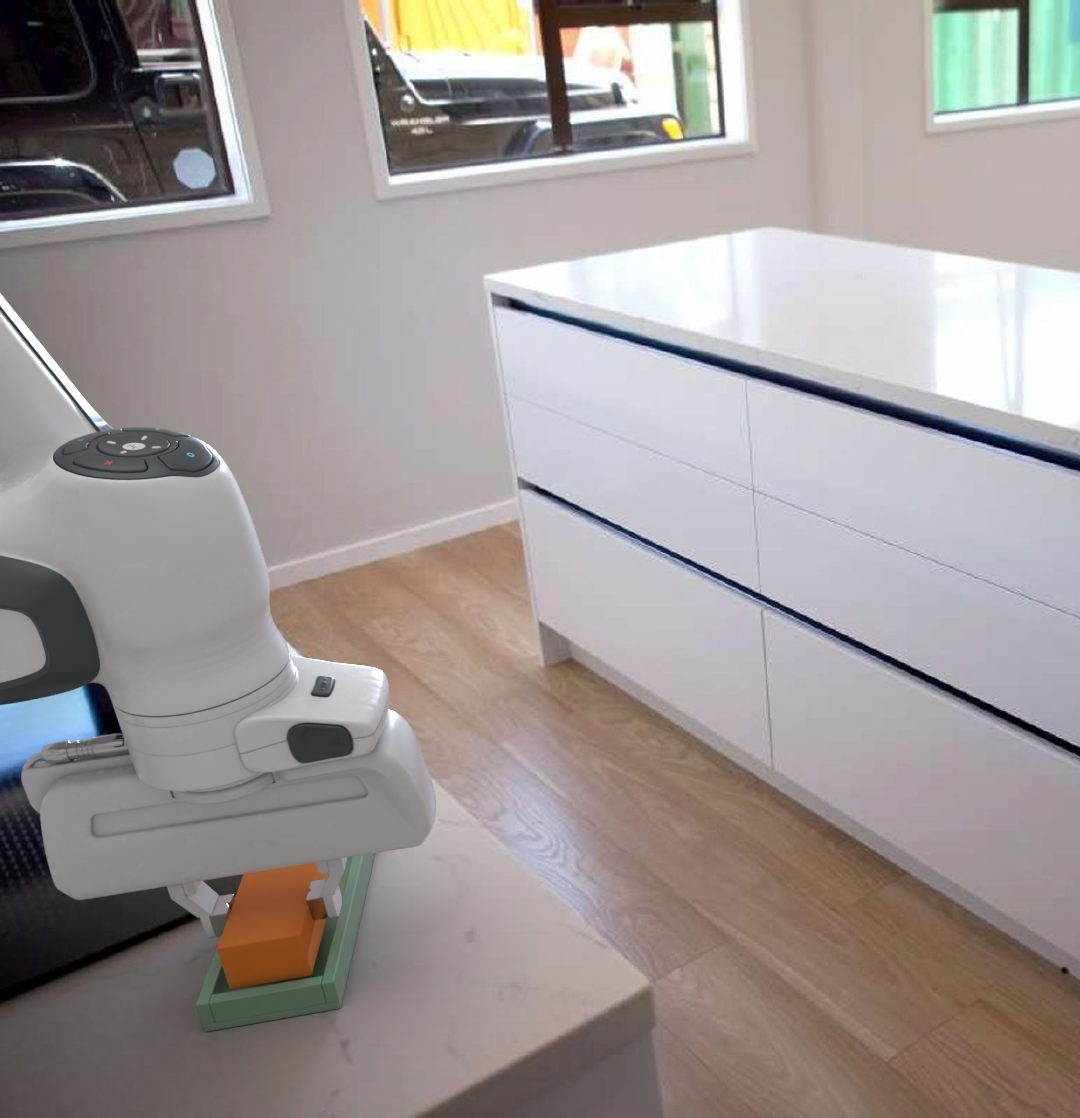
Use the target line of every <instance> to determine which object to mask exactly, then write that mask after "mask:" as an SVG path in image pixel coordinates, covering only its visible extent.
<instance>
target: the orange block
mask: <svg viewBox="0 0 1080 1118" xmlns="http://www.w3.org/2000/svg"><path fill="white" fill-rule="evenodd" d="M242 877H243V878H242ZM242 877H241V880H240V883H239V885H240V886H239V885H238V888H239V889H238V888H237V891H236V894H235V896H236V897H235V896H234V897H235V901H234V904H233V907H232V908H231V912H230V915H229V918H228V919H227V922H226V924H225V927H224V930H223V933H222V935H221V936H220V937H221V938H220V937H219V940H220V941H219V940H218V943H219V944H218V943H217V946H216V948H217V952H218V955H219V958H220V961H221V964H222V967H223V970H224V973H225V976H226V979H227V982H228V985H229V988H230V989H236V988H242V987H248V986H253V985H259V984H265V983H271V982H276V981H282V980H288V979H293V978H299V977H305V976H311V975H312V973H313V969H314V965H315V961H316V957H317V953H318V949H319V945H320V942H321V938H322V934H323V930H324V926H325V922H326V919H319V920H313V919H312V916H311V911H310V909H309V906H307V902H306V898H307V894H308V892H310V889H309V887H310V884H311V881H316V880H321V879H325V877H326V875H325V874H320V873H319V871H318V868H317V865H316V863H310V864H303V865H297V866H291V867H285V868H279V869H272V870H266V871H260V872H254V873H247V874H242Z"/></svg>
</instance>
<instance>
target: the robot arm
mask: <svg viewBox="0 0 1080 1118" xmlns="http://www.w3.org/2000/svg"><path fill="white" fill-rule="evenodd" d="M239 486H240V485H239V484H238V482H237V480H236V478H235V476H234V474H233V472H232V471H231V469H230V467H229V466H228V464H227V463H226V461H225V460H224V459H223V458H222V456H221V455H220V454H219V453H218V451H216V450H215V449H214V448H213V447H212V446H211V445H210V444H209V443H207V442H205V441H204V440H202V439H200V438H198V437H196V436H192V435H190V434H188V433H184V432H182V431H178V430H177V431H176V430H173V429H169V428H168V429H167V428H159V427H146V426H145V427H143V426H142V427H141V426H140V427H139V426H137V427H135V426H134V427H123V428H117V429H114V428H113V427H112V426H111V425H110V424H108V423H107V421H105V420H104V419H103V417H102V416H101V415H99V413H98V412H97V411H96V410H95V408H93V407H92V406H91V404H90V403H89V402H88V401H87V400H86V399H85V397H84V396H83V395H82V394H81V393H80V391H79V390H78V389H77V387H76V386H75V385H74V383H73V382H72V381H71V380H70V378H69V377H68V376H67V375H66V373H65V372H64V371H63V370H62V368H60V366H59V365H58V364H57V362H56V361H55V360H54V359H53V357H52V356H51V355H50V354H49V352H48V351H47V349H46V348H45V347H44V346H43V344H42V343H41V342H40V341H39V340H38V339H37V338H36V336H35V335H34V333H33V332H32V331H31V330H30V328H28V326H27V325H26V324H25V322H24V321H23V320H22V319H21V317H20V316H19V315H18V314H17V312H16V311H15V310H14V309H13V307H12V306H11V305H10V303H9V302H8V301H7V300H6V299H5V297H4V296H3V295H2V294H1V293H0V706H5V705H12V704H17V703H23V702H28V701H34V700H38V699H44V698H48V697H53V696H58V695H61V694H64V693H68V692H71V691H74V690H76V689H80V688H82V687H84V686H86V685H89V684H99V685H101V686H103V687H104V688H105V689H106V691H107V693H108V695H109V698H110V700H111V704H112V707H113V709H114V712H115V715H116V718H117V721H118V725H119V727H120V730H121V732H117V733H110V734H103V735H98V736H94V737H90V738H86V739H85V738H84V739H80V740H73V741H72V740H60V741H54V742H51V743H48V744H45V745H43V746H42V747H41V749H40V750H41V751H39V752H37V753H35V754H33V755H32V756H30V757H29V758H28V759H27V760H26V761H25V763H24V764H23V767H22V769H21V775H20V776H21V777H20V780H21V784H22V786H23V789H24V792H25V794H26V798H27V799H28V802H29V804H30V806H31V807H32V809H33V810H34V811H36V812H37V813H38V814H39V816H40V817H39V818H40V827H41V835H42V842H43V847H44V852H45V857H46V861H47V865H48V868H49V869H48V870H49V872H50V875H51V879H52V882H53V884H54V886H55V888H56V889H57V890H58V891H59V892H61V893H63V895H66V896H68V897H69V898H71V899H73V900H75V901H85V900H92V899H97V898H103V897H109V896H116V895H123V894H129V893H134V892H141V891H146V890H147V891H149V890H153V889H159V888H165V887H166V889H167V892H168V895H169V897H170V900H172V901H173V902H174V903H176V904H177V905H179V906H180V907H182V908H183V909H185V910H186V911H188V913H190V914H191V915H193V916H194V917H196V918H197V919H198V918H199V919H200V923H201V925H202V928H203V931H204V934H205V937H206V938H207V939H212V938H213V939H214V938H217V937H218V938H220V937H221V935H222V933H223V930H224V927H225V924H226V922H227V919H228V918H229V915H230V912H231V908H232V907H233V904H234V901H235V894H234V893H230V894H229V893H228V894H222V895H219V894H218V893H217V892H216V891H214V889H212V888H211V887H210V885H208V884H207V882H205V881H209V880H215V879H216V880H217V879H222V878H229V877H235V876H241V875H244V874H247V873H254V872H260V871H266V870H272V869H279V868H285V867H291V866H297V865H303V864H310V863H316V865H317V868H318V871H319V873H320V874H325V873H327V874H326V877H325V879H321V880H316V881H311V884H310V887H309V889H310V892H308V894H307V898H306V902H307V906H309V909H310V911H311V916H312V919H313V920H319V919H326V918H333V917H338V916H339V914H340V910H341V906H342V896H341V892H340V888H339V885H338V884H339V882H340V879H341V877H342V875H343V872H344V869H345V865H346V861H347V857H353V856H360V855H366V854H372V853H375V854H378V853H383V852H390V851H397V850H402V849H410V848H414V847H419V846H421V845H422V844H423V843H424V842H425V841H426V840H427V838H428V836H429V835H430V834H431V832H432V831H433V828H434V825H435V819H436V812H437V796H436V791H435V787H434V783H433V780H432V776H431V773H430V770H429V767H428V763H427V761H426V758H425V756H424V754H423V750H422V748H421V746H420V744H419V741H418V738H417V736H416V734H415V732H414V730H413V728H412V726H411V725H410V724H409V723H408V721H407V720H406V719H405V718H404V717H403V716H402V715H400V714H399V713H398V712H396V711H395V710H391V709H389V707H390V685H389V681H388V677H387V675H386V673H385V672H384V671H383V670H381V669H378V668H377V667H372V666H367V665H357V664H349V663H342V662H334V661H327V660H321V659H315V658H309V657H304V656H299V655H295V654H291V653H290V649H289V646H288V643H287V641H286V639H285V638H284V636H283V634H282V633H281V631H280V630H279V629H278V627H277V625H276V624H275V621H274V619H273V616H272V613H271V612H272V611H271V603H270V601H271V589H272V588H271V579H270V575H269V570H268V566H267V563H266V560H265V557H264V553H263V550H262V549H263V548H262V546H261V543H260V540H259V536H258V533H257V530H256V528H255V527H256V526H255V525H254V522H253V518H252V515H251V513H250V511H249V507H248V505H247V503H246V500H245V498H244V495H243V493H242V491H241V489H240V487H239Z"/></svg>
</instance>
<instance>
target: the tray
mask: <svg viewBox="0 0 1080 1118" xmlns="http://www.w3.org/2000/svg"><path fill="white" fill-rule="evenodd" d="M375 855H376V853H372V854H366V855H360V856H353V857H347V861H346V865H345V869H344V872H343V875H342V877H341V879H340V882H339V884H338V885H339V888H340V892H341V896H342V906H341V910H340V914H339V916H338V917H333V918H326V922H325V926H324V930H323V934H322V938H321V942H320V945H319V949H318V953H317V957H316V961H315V965H314V969H313V973H312V975H311V976H305V977H299V978H293V979H288V980H282V981H276V982H271V983H265V984H259V985H253V986H248V987H242V988H236V989H230V988H229V985H228V982H227V979H226V976H225V973H224V970H223V967H222V964H221V961H220V958H219V955H218V952H217V947H216V949H215V952H214V954H213V957H212V960H211V963H210V965H209V968H208V970H207V973H206V976H205V979H204V981H203V984H202V987H201V990H200V992H199V995H198V998H197V1001H196V1003H195V1008H196V1010H197V1014H198V1016H199V1020H200V1022H201V1025H202V1028H203V1030H204V1031H203V1032H204V1033H208V1032H213V1031H219V1030H224V1029H225V1030H226V1029H229V1028H230V1029H231V1028H236V1027H242V1026H247V1025H252V1024H258V1023H264V1022H270V1021H275V1020H281V1019H286V1018H287V1019H288V1018H293V1017H298V1016H305V1015H310V1014H315V1013H321V1012H327V1011H333V1010H338V1009H341V1008H342V1005H343V1000H344V996H345V992H346V987H347V982H348V977H349V973H350V968H351V963H352V959H353V955H354V950H355V947H356V941H357V937H358V932H359V927H360V923H361V918H362V914H363V909H364V905H365V901H366V896H367V891H368V887H369V884H370V883H369V882H370V879H371V874H372V869H373V865H374V860H375ZM326 874H327V873H325V875H326ZM242 878H243V876H242V877H241V879H242ZM239 886H240V884H239V885H238V888H237V890H238V889H239ZM234 897H236V895H234ZM220 938H221V936H220V937H219V940H218V943H217V945H218V944H219V941H220Z"/></svg>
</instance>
